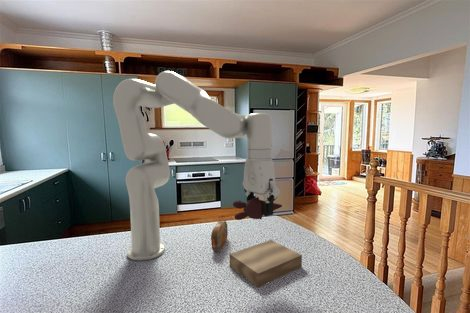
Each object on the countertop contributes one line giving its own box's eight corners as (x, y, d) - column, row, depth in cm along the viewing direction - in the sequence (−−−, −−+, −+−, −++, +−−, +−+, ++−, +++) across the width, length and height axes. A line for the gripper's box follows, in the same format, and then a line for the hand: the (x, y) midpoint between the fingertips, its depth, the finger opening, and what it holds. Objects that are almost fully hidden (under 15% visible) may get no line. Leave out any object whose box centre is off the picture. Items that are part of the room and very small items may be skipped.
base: (229, 265, 81) (229, 253, 80) (270, 250, 91) (271, 239, 91) (258, 287, 69) (258, 273, 69) (301, 267, 80) (301, 255, 79)
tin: (218, 256, 87) (218, 232, 87) (209, 255, 88) (209, 231, 87) (228, 238, 102) (228, 218, 101) (220, 237, 103) (220, 217, 102)
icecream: (278, 194, 82) (232, 199, 81) (283, 193, 74) (232, 199, 74) (281, 216, 81) (234, 221, 80) (286, 217, 73) (235, 223, 73)
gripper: (233, 153, 81) (233, 207, 83) (269, 157, 67) (269, 222, 68) (251, 152, 85) (251, 203, 87) (289, 155, 71) (289, 217, 73)
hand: (259, 211), depth 78 cm, fingers closed on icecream, 7 cm apart
